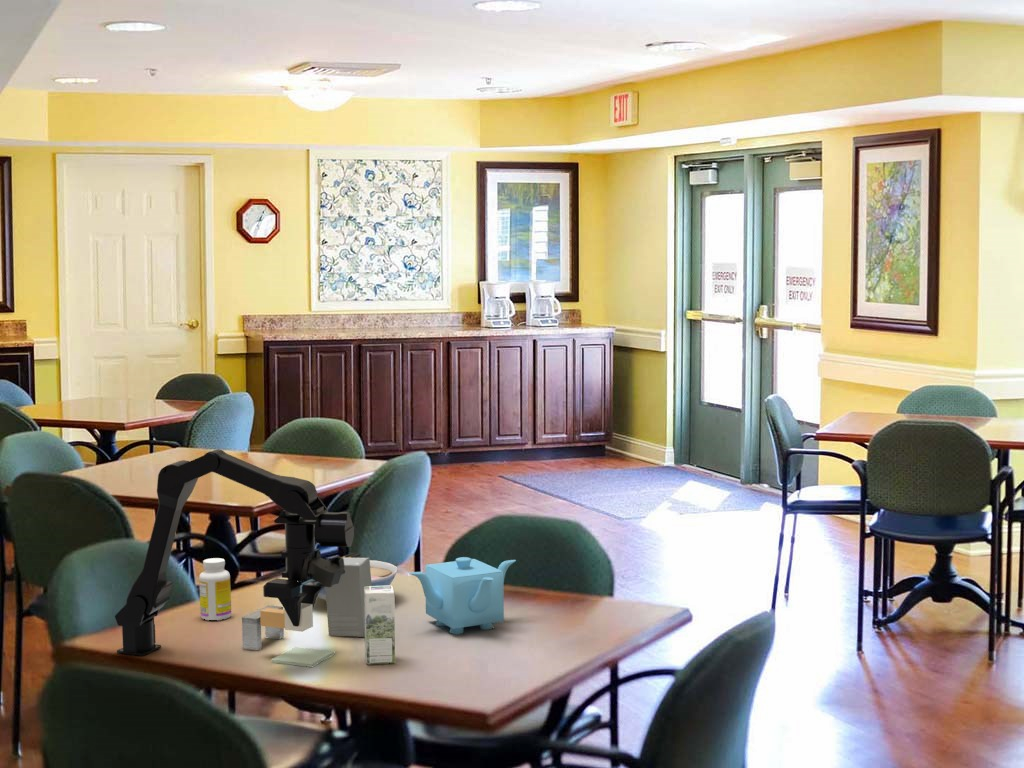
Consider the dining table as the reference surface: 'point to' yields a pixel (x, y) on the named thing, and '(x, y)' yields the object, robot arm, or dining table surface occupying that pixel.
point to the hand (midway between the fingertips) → (301, 623)
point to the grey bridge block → (258, 630)
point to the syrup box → (379, 624)
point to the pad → (303, 656)
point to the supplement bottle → (215, 590)
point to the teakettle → (464, 593)
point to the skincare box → (348, 599)
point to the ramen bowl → (373, 573)
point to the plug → (287, 618)
